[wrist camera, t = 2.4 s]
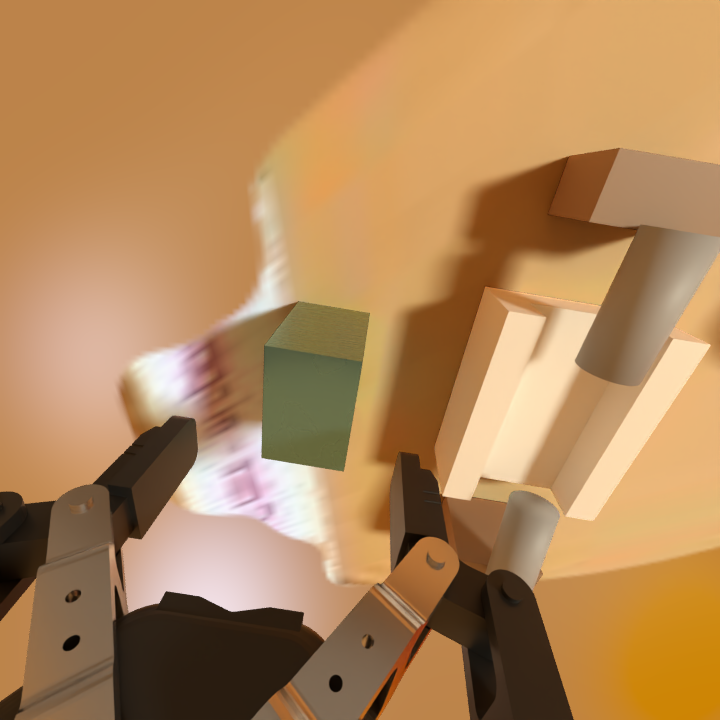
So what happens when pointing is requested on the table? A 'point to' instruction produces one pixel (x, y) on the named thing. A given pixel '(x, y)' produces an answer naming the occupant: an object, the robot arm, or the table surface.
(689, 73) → the table surface
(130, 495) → the robot arm
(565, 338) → the shaft rig
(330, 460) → the green rectangular block
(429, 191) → the table surface
